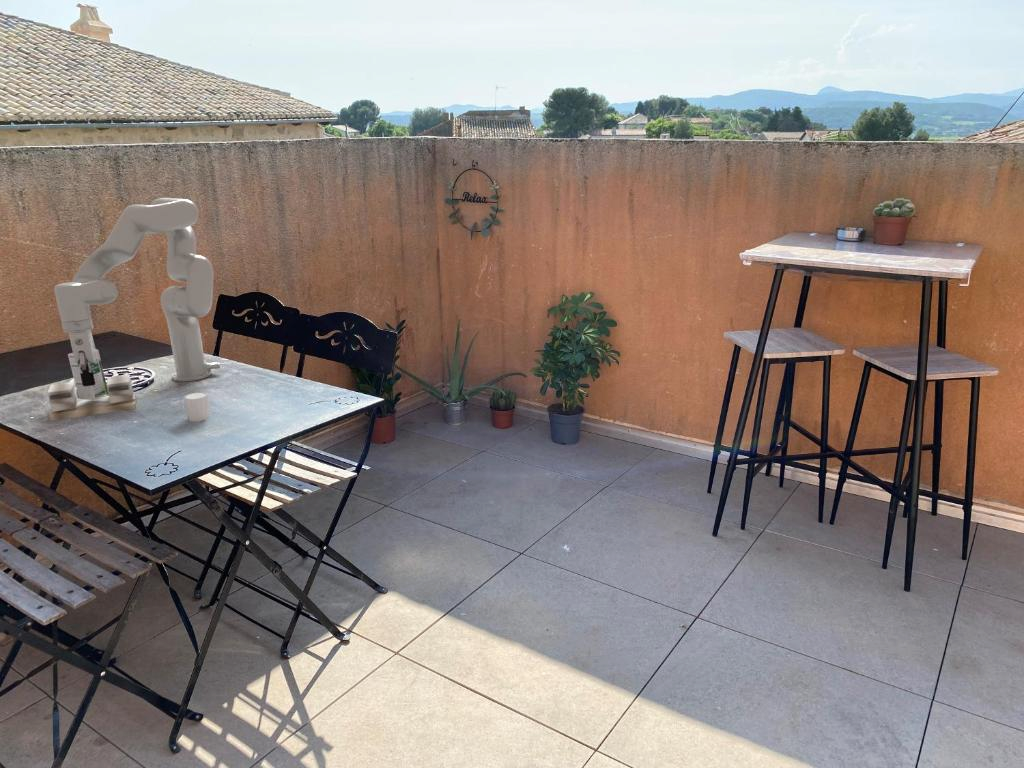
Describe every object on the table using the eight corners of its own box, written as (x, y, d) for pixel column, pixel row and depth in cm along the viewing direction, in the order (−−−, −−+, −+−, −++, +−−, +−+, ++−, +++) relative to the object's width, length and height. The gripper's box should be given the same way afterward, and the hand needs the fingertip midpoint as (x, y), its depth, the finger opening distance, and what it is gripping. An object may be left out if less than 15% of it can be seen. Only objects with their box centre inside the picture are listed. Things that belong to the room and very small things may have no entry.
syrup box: (94, 400, 204) (84, 354, 199) (77, 399, 205) (67, 353, 200) (109, 393, 209) (99, 348, 204) (92, 392, 210) (82, 347, 205)
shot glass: (204, 411, 205) (201, 390, 203) (216, 417, 201) (212, 395, 199) (182, 418, 200) (178, 396, 198) (193, 424, 196) (189, 401, 194)
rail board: (136, 396, 218) (131, 372, 215) (135, 408, 208) (130, 383, 205) (55, 407, 209) (49, 382, 206) (50, 420, 198) (44, 395, 196)
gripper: (90, 330, 194) (102, 388, 200) (94, 317, 208) (106, 371, 214) (59, 333, 191) (73, 392, 197) (65, 319, 205) (78, 375, 211)
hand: (90, 381), depth 205 cm, fingers closed on syrup box, 7 cm apart
